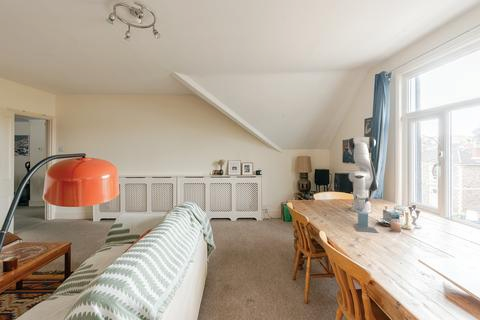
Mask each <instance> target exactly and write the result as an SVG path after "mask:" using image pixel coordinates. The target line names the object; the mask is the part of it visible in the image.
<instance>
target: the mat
mask: <svg viewBox="0 0 480 320" xmlns="http://www.w3.org/2000/svg"><path fill="white" fill-rule="evenodd" d="M353 228H354V229H355V231H356V232H361V233H363V232H365V233H375V234H379V231H378V230H377V229H376V228H375V227H372V226H368V227H363V226H359V225H353Z"/></svg>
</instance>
